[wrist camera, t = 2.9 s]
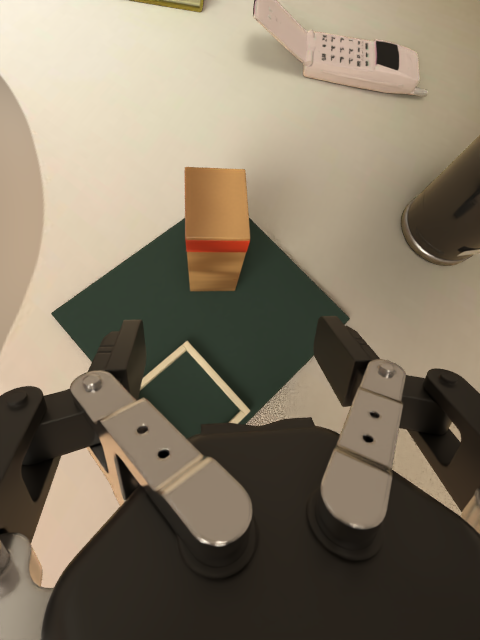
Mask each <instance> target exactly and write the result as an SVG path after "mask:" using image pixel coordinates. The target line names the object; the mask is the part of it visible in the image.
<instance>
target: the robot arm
mask: <svg viewBox="0 0 480 640" xmlns="http://www.w3.org/2000/svg"><path fill="white" fill-rule="evenodd" d="M401 227H402V231H403V235H404V237H405V239H406V241H407V243H408V244H409V246H410V247H411V248H412V249H413V250H414V251H415V252H416V253H417V254H418V255H419V256H421V257H422V258H424V259H425V260H427V261H429V262H431V263H434V264H438V265H444V266H450V265H455V264H459V263H461V262H463V261H464V260H466V259H468V258H470V257H471V256H472V255H473V254H477V253H480V135H479V136H478V137H477V138H476V139H475V140H474V141H473V142H472V143H471V144H470V145H469V146H468V147H467V148H466V149H465V150H464V151H463V152H462V153H461V154H460V155H459V156H458V157H457V158H456V159H455V160H454V161H453V162H452V163H451V164H450V165H449V166H448V167H447V168H446V169H445V170H444V171H443V172H442V173H441V174H440V175H439V176H438V177H437V178H436V179H435V180H434V181H433V182H431V183H430V184H429V185H428V186H427V187H426V188H425V189H424V190H423V191H422V192H421V193H420V194H419V195H418V196H417V197H415V198H414V199H413V200H412V201H411V202H410V203H409V204H408V205H407V206H406V208H405V209H404V211H403V214H402V218H401ZM313 351H314V356H315V358H316V360H317V362H318V364H319V366H320V367H321V369H322V371H323V373H324V374H325V376H326V378H327V380H328V382H329V383H330V385H331V387H332V389H333V390H334V392H335V394H336V396H337V398H338V399H339V401H340V403H341V405H342V406H343V407H347V406H351V408H350V410H349V413H348V415H347V418H346V421H345V423H344V426H343V429H342V431H341V434H338V433H336V432H334V431H332V430H329V429H326V428H323V427H319V426H315V425H314V422H313V420H312V418H311V417H308V418H292V419H283V420H280V421H276V422H273V423H270V424H266V425H263V426H250V425H243V424H236V423H214V424H201V433H200V434H197V435H194V436H192V437H189V438H187V439H186V438H185V437H184V436H183V435H182V434H181V433H180V432H179V431H178V430H177V429H176V428H175V427H174V426H173V425H172V424H171V423H170V422H169V421H168V420H167V419H166V418H165V417H164V416H163V415H162V414H161V413H160V412H159V411H158V410H157V409H156V408H155V407H154V406H153V405H152V404H151V403H150V402H149V401H148V400H147V399H146V398H144V397H142V398H140V399H138V397H139V393H140V388H141V383H142V379H143V374H144V369H145V365H146V345H145V336H144V328H143V321H142V320H124V321H123V323H122V326H121V328H120V331H112V332H110V333H109V334H108V335H106V336H105V337H104V338H103V340H102V342H101V344H100V347H99V348H98V351H97V353H96V355H95V357H94V359H93V361H92V364H91V366H90V368H89V370H88V372H87V373H84V374H82V375H80V376H79V377H77V378H76V379H75V380H74V381H73V382H72V383H71V386H70V389H68V390H65V391H62V392H58V393H54V394H50V395H46V396H43V393H42V391H41V390H40V389H39V388H37V387H32V386H26V387H20V388H16V389H13V390H10V391H8V392H6V393H4V394H3V395H1V396H0V640H480V394H479V393H478V392H477V391H476V390H475V389H474V388H473V387H472V386H471V385H470V384H469V383H468V382H467V381H466V380H465V379H464V378H462V377H461V376H459V375H458V374H456V373H454V372H451V371H448V370H444V369H431V370H429V371H428V373H427V375H426V378H420V377H414V376H408V375H406V373H405V371H404V370H403V369H402V368H401V367H400V366H399V365H397V364H395V363H393V362H390V361H387V360H382V359H380V358H379V357H378V356H377V355H376V353H375V352H374V351H373V350H372V349H371V348H370V346H369V345H367V343H366V342H365V341H364V339H362V337H361V336H360V335H359V334H358V332H357V331H355V330H353V329H352V328H350V327H348V326H345V325H344V324H343V323H342V322H341V320H340V319H339V318H338V317H337V316H321V317H320V318H319V319H318V324H317V329H316V334H315V340H314V345H313ZM452 422H453V423H454V424H455V426H456V427H457V428H458V429H459V431H460V434H461V443H460V441H459V440H458V439H457V438H456V436H455V435H454V434H453V433H452V432H451V430H450V429H449V426H450V425H451V423H452ZM399 428H402V429H407V430H408V432H409V434H410V435H411V437H412V438H413V440H414V441H415V443H416V444H417V446H418V447H419V449H420V450H421V452H422V453H423V455H424V456H425V458H426V459H427V461H428V462H429V464H430V465H431V467H432V468H433V470H434V471H435V473H436V474H437V476H438V477H439V479H440V480H441V482H442V483H443V485H444V486H445V488H446V489H447V491H448V492H449V494H450V495H451V497H452V498H453V500H454V501H455V503H456V504H457V506H458V507H459V509H460V510H461V512H462V513H461V517H460V516H459V515H457V514H456V513H455V512H453V511H452V510H450V509H449V508H447V507H446V506H444V505H443V504H441V503H440V502H439V501H437V500H436V499H434V498H433V497H431V496H430V495H428V494H427V493H425V492H424V491H422V490H421V489H420V488H418V487H417V486H415V485H414V484H412V483H411V482H409V481H408V480H406V479H405V478H404V477H402V476H401V475H399V474H398V473H396V472H395V471H393V470H392V465H393V459H394V454H395V448H396V442H397V437H398V431H399ZM83 448H87V450H88V451H89V453H90V454H91V456H92V457H93V459H94V460H95V462H96V463H97V465H98V466H99V468H100V469H101V471H102V472H103V474H104V475H105V477H106V478H107V480H108V481H109V483H110V485H111V487H112V490H113V492H114V495H115V497H116V499H117V501H118V503H119V505H120V507H119V508H118V510H117V511H116V512H115V513H114V514H113V515H112V516H111V517H110V518H109V520H108V521H107V522H106V523H105V524H104V525H103V526H102V527H101V528H100V530H99V531H98V532H97V533H96V534H95V535H94V536H93V537H92V538H91V540H90V541H89V542H88V543H87V544H86V545H85V546H84V547H83V548H82V550H81V551H80V552H79V553H78V554H77V555H76V556H75V557H74V559H73V560H72V561H71V562H70V563H69V565H68V566H67V567H66V569H65V570H64V571H63V573H62V575H61V576H60V578H59V580H58V581H57V583H56V585H55V587H54V588H44V587H41V581H42V575H43V574H42V566H41V564H40V562H39V560H38V558H37V556H36V554H35V552H34V550H33V548H32V546H31V542H32V539H33V536H34V533H35V530H36V527H37V524H38V521H39V519H40V516H41V513H42V510H43V507H44V504H45V501H46V498H47V495H48V493H49V490H50V487H51V484H52V481H53V478H54V475H55V472H56V469H57V467H58V464H59V461H60V458H61V455H64V454H68V453H71V452H74V451H77V450H80V449H83Z"/></svg>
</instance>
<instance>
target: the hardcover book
mask: <svg viewBox="0 0 480 640" xmlns="http://www.w3.org/2000/svg"><path fill="white" fill-rule="evenodd" d="M131 1H137V2H143V3H149V4H155V5H161V6H167V7H173V8H179V9H185V10H190V11H196V12H201V10H202V7H203V1H204V0H131Z"/></svg>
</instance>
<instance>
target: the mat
mask: <svg viewBox="0 0 480 640" xmlns="http://www.w3.org/2000/svg"><path fill="white" fill-rule="evenodd" d="M249 228H250V243H249V246H248V250H247V252H246V255H245V258H244V261H243V265H242V268H241V272H240V275H239V279H238V282H237V286H236V289H235V291H190V283H189V271H188V259H187V251H186V240H185V218H184V219H183V220H182V221H180V222H179V223H177V224H176V225H175V226H173V227H172V228H170V229H169V230H167V231H166V232H165V233H163V234H162V235H160V236H159V237H158V238H156V239H155V240H153V241H152V242H151V243H149V244H148V245H146V246H145V247H144V248H142V249H141V250H139V251H138V252H137V253H135V254H134V255H132V256H131V257H130V258H128V259H127V260H125V261H124V262H123V263H121V264H120V265H118V266H117V267H115V268H114V269H113V270H111V271H110V272H108V273H107V274H106V275H104V276H103V277H101V278H100V279H99V280H97V281H96V282H94V283H93V284H92V285H90V286H89V287H87V288H86V289H85V290H83V291H82V292H80V293H79V294H78V295H76V296H75V297H73V298H72V299H70V300H69V301H68V302H66V303H65V304H63V305H62V306H61V307H59V308H58V309H56V310H55V311H54V312H52V313H51V314H52V315H53V316H54V318H55V319H56V320H57V321H58V322H59V324H60V325H61V326H62V327H63V328H64V330H65V331H66V332H67V333H68V334H69V335H70V337H71V338H72V339H73V340H74V341H75V343H76V344H77V345H78V346H79V347H80V348H81V350H82V351H83V352H84V353H85V354H86V356H87V357H88V358H89V359H90V360H91V361H93V359H94V357H95V355H96V353H97V351H98V348H99V347H100V344H101V342H102V340H103V338H104V337H105V336H106V335H108V334H109V333H110V332H112V331H120V328H121V326H122V323H123V321H124V320H142V321H143V328H144V336H145V345H146V365H145V369H144V374H143V379H142V383H141V388H140V393H139V397H138V399H140V398H142V397H144V398H146V399H147V400H148V401H149V402H150V403H151V404H152V405H153V406H154V407H155V408H156V409H157V410H158V411H159V412H160V413H161V414H162V415H163V416H164V417H165V418H166V419H167V420H168V421H169V422H170V423H171V424H172V425H173V426H174V427H175V428H176V429H177V430H178V431H179V432H180V433H181V434H182V435H183V436H184V437H185V438H186V439H187V438H189V437H192V436H194V435H197V434H200V433H201V424H214V423H236V424H243V425H245V424H246V423H247V422H248V421H249V420H250V419H251V418H252V417H253V416H254V415H255V414H256V413H257V412H258V411H259V410H260V409H261V408H262V407H263V406H264V405H265V404H266V403H267V402H268V401H269V400H270V399H271V398H272V397H273V396H274V395H275V394H276V393H277V392H278V391H279V390H280V389H281V388H282V387H283V386H284V385H285V384H286V383H287V382H288V381H289V380H290V379H291V378H292V377H293V376H294V375H295V374H296V373H297V372H298V371H299V370H300V369H301V368H302V367H303V366H304V365H305V364H306V363H307V362H308V361H309V360H310V359H311V358H312V357H313V356H314V351H313V345H314V340H315V334H316V329H317V324H318V319H319V318H320V317H321V316H337V317H338V318H339V319H340V320H341V322H342V323H343V324H345V323H346V322H347V321H348V320H349V319H350V318H349V317H348V316H347V315H346V314H345V313H344V312H343V311H342V310H341V309H340V308H339V307H338V306H337V305H336V304H335V303H334V302H333V301H332V300H331V299H330V298H329V297H328V296H327V295H326V294H325V293H324V292H323V291H322V290H321V289H320V288H319V287H318V286H317V285H316V284H315V283H314V282H313V281H312V280H311V279H310V278H309V277H308V276H307V275H306V274H305V273H304V272H303V271H302V270H301V269H300V268H299V267H298V266H297V265H296V264H295V263H294V262H293V261H292V260H291V259H290V258H289V257H288V256H287V255H286V254H285V253H284V252H283V251H282V250H281V249H280V248H279V247H278V246H277V245H276V244H275V243H274V242H273V241H272V240H271V239H270V238H269V237H268V236H267V235H266V234H265V233H264V232H263V231H262V230H261V229H260V228H259V227H258V226H257V225H256V224H255V223H254V222H253V221H252V220H251V219H250V218H249Z"/></svg>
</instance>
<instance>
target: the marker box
mask: <svg viewBox="0 0 480 640" xmlns="http://www.w3.org/2000/svg"><path fill="white" fill-rule="evenodd" d="M185 240H186V251H187V259H188V271H189V283H190V291H235V289H236V286H237V282H238V279H239V275H240V272H241V268H242V265H243V261H244V258H245V255H246V252H247V250H248V246H249V243H250V228H249V214H248V200H247V187H246V173H245V170H244V169H221V168H196V167H185Z"/></svg>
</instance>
